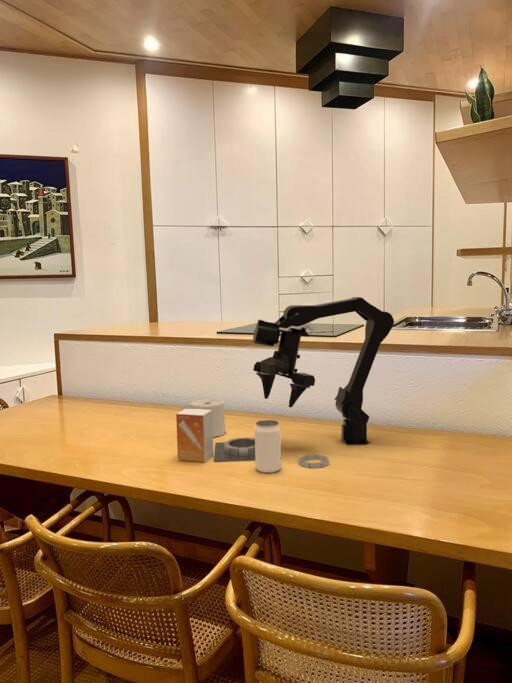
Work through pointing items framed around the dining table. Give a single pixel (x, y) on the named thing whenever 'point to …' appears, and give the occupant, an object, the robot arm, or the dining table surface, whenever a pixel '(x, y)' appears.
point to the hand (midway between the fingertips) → (277, 402)
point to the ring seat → (235, 450)
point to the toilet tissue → (217, 413)
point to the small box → (194, 435)
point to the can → (267, 446)
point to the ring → (313, 465)
